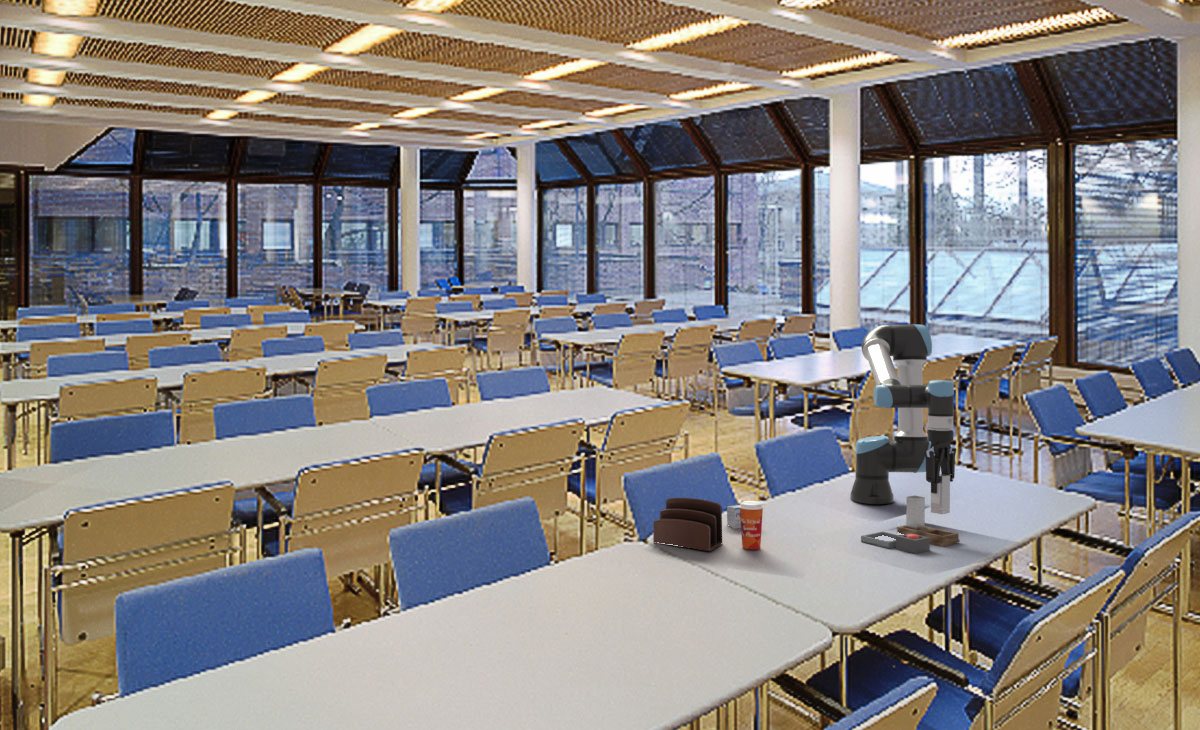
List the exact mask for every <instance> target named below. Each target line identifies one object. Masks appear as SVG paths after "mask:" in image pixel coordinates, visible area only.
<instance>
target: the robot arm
mask: <svg viewBox="0 0 1200 730" xmlns="http://www.w3.org/2000/svg"><path fill="white" fill-rule="evenodd" d="M932 341H933V340H932V336H931V334H930V330H929V329H928V328H927V326H926V325H924V324H917V323H916V324H914V323H911V324H907V323H906V324H880V325H878V326H875V327H873V328H871V330H869V331H868V332H867V333H866V334H865V336H864V338H863V340H862V341H861V352H862V355H863V357H864V359H865V360H866V361H868V364H869V367H870V370H871V373H872V376H873V379H874V382H875V386H874V387H873V404H874V405H875V407H877V408H884V409H895V408H896V409H897V421H898V422H897V426H898V427H897V428H898V429H897V432H896V433H895V434H894V435H893V440H890V438H889V437H888V436H887V435H886V436H885V435H875V436H866V437H862V438H859V439H857V441H856V443H855V451H854V454H855V479H854V481H853V482H854V483H853V484H852V487H851V491H850V501H852V502H855V503H859V504H868V505H885V504H891V503H894V500H895V499H894V497H895V495H894V493H893V491H892V487H891V483H890V481H889V476H890V475H889V473H914V474H917V473H925V480H926V482H928V483H930V504H931V503H935V504H940V483H938V482H939V474H945V475H950V483H951V482H952V483H953V482H954V479H955V472H956V469H955V467H956V453H957V448H956V447H952V445H951V443H953V441H954V430H953V428H954V407H955V406H954V403H955V401H954V398H955V396H954V395H955V390H954V389H955V388H954V382H953V381H951V380H945V379H944V380H943V379H942V380H940V379H939V380H936V379H933V380H932V379H931V380H930V381H929V382H928V383H927V384H923V367H924V365H925V363H926V362H927V359H928V358H927V357H929V356H931V355H932V351H933V350H932V348H933V343H932ZM891 357H892V358H891ZM894 364H895V365H896V366H897V371H896V368H895V366H894ZM924 409H928V410H927V428H928V430H927V434H926V432H925V431H924Z"/></svg>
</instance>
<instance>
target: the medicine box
mask: <svg viewBox="0 0 1200 730" xmlns="http://www.w3.org/2000/svg"><path fill="white" fill-rule="evenodd" d="M739 505H740V504H738V505H737V504H736V505H728V506H726V526H727V525H729V526H730V528H731V527H732V528H731V529H733V528H737V529H741V520H740V508H739ZM729 526H728V527H729Z"/></svg>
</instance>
